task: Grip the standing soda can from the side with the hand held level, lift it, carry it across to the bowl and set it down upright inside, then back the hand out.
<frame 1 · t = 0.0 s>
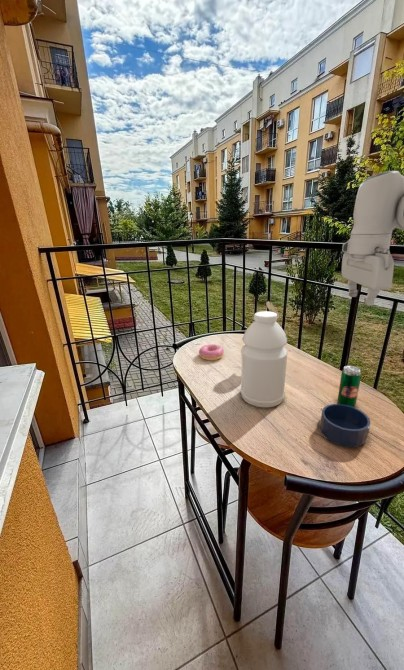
hand: (360, 300, 75), 32 cm above the table, tool pointing down, fingers open, 8 cm apart
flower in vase: (266, 362, 115), on the table
doughnut: (211, 356, 122), on the table
bowl: (342, 431, 74), on the table
soda can: (346, 404, 86), on the table
bottle: (262, 396, 92), on the table
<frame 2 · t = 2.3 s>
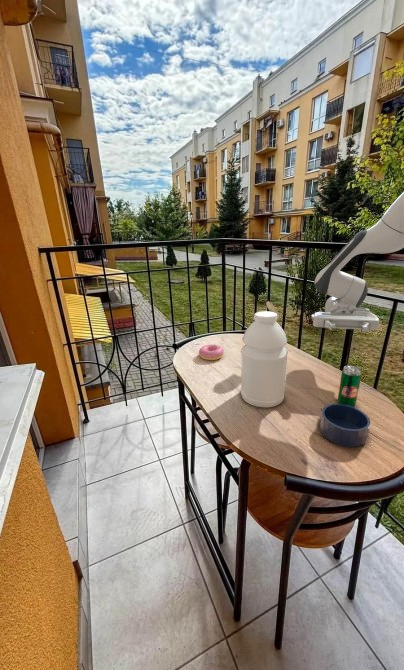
hand: (348, 328, 89), 20 cm above the table, tool horizontal, fingers open, 8 cm apart
nothing on the table moved.
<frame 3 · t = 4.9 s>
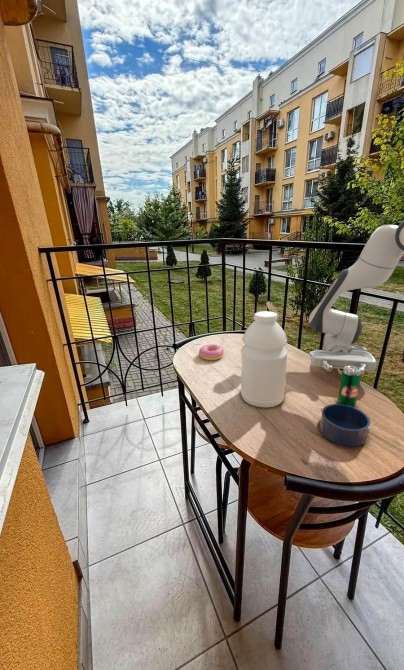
hand: (345, 370, 91), 7 cm above the table, tool horizontal, fingers open, 8 cm apart
nothing on the table moved.
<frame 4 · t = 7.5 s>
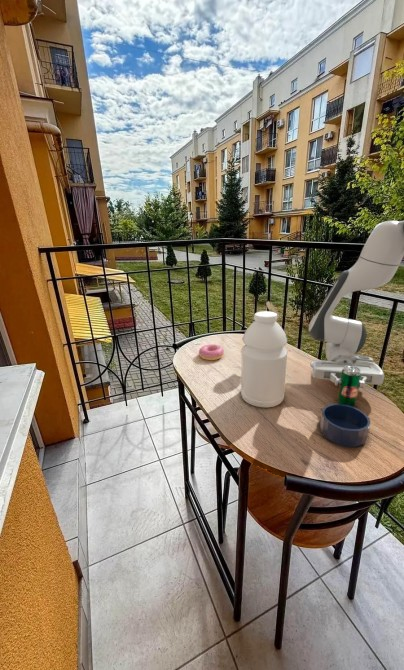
hand: (350, 384, 83), 7 cm above the table, tool horizontal, fingers closed on soda can, 5 cm apart
soda can: (346, 404, 86), on the table, touching gripper
everything else where it was.
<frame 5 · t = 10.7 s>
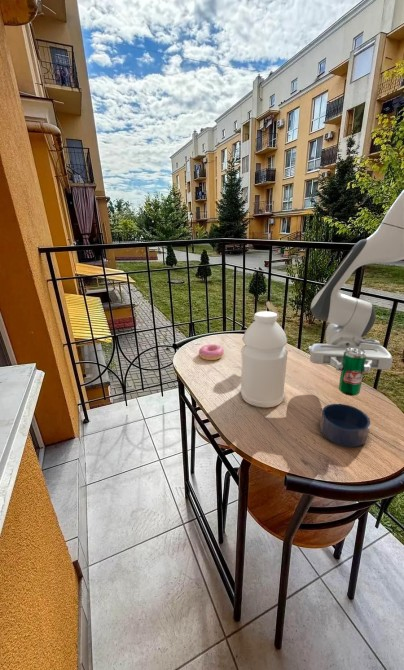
hand: (353, 369, 72), 17 cm above the table, tool horizontal, fingers closed on soda can, 5 cm apart
soda can: (348, 392, 75), point 9 cm above the table, touching gripper
everything else where it was.
when the fingers open (8 cm above the table, at t = 14.4 s): soda can stays where it is, resting on bowl.
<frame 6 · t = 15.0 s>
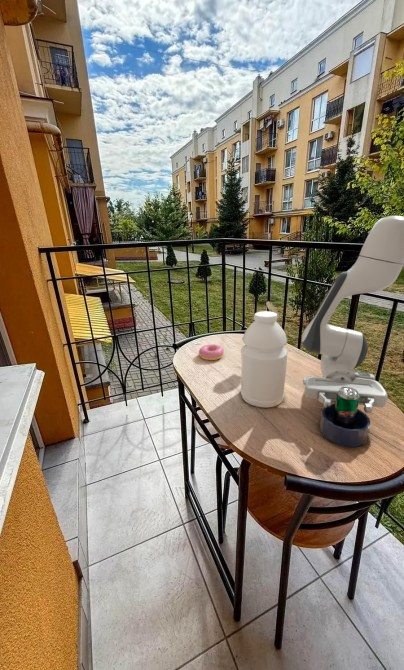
hand: (348, 408, 71), 8 cm above the table, tool horizontal, fingers open, 8 cm apart
soda can: (342, 430, 74), resting on bowl
everything else where it was.
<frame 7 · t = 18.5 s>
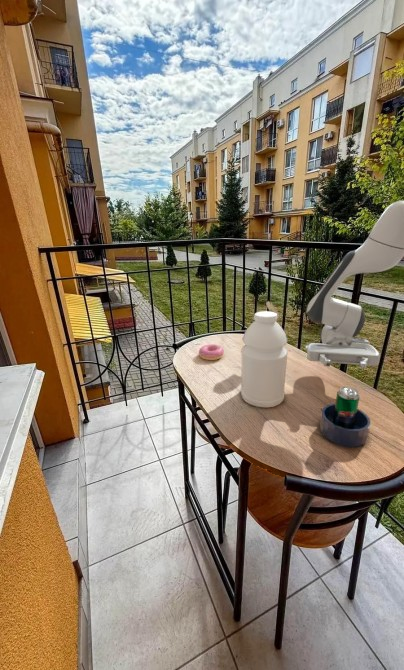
hand: (345, 365, 81), 13 cm above the table, tool horizontal, fingers open, 8 cm apart
nothing on the table moved.
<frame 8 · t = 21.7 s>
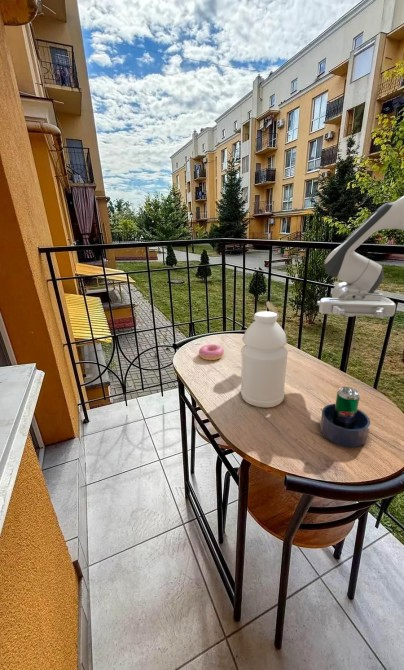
hand: (360, 314, 78), 28 cm above the table, tool horizontal, fingers open, 8 cm apart
nothing on the table moved.
at the end: soda can 0.1 cm off-centre in the bowl, point 0.3 cm above the bowl's base; soda can tilted 0°; the gripper is holding nothing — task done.
